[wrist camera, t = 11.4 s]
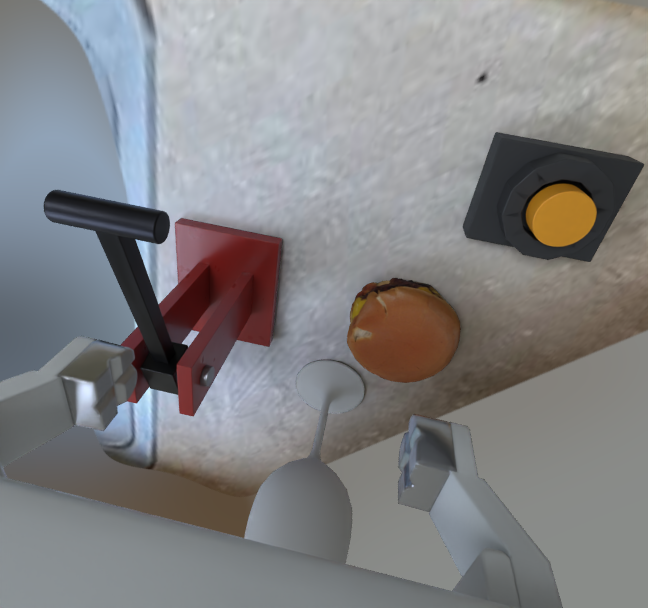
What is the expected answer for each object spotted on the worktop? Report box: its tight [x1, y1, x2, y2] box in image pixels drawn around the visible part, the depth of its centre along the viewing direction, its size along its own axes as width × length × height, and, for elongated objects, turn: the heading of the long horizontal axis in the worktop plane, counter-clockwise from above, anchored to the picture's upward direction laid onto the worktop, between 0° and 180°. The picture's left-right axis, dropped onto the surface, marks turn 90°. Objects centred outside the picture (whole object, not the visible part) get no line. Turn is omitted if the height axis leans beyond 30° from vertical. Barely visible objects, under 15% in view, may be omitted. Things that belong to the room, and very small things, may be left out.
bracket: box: [121, 218, 282, 416], centre depth 33 cm, size 11×9×14 cm
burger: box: [347, 278, 461, 383], centre depth 35 cm, size 10×9×5 cm
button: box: [526, 184, 597, 247], centre depth 26 cm, size 4×4×2 cm
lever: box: [44, 190, 188, 395], centre depth 24 cm, size 15×5×2 cm, turn 171°
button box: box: [463, 132, 644, 262], centre depth 28 cm, size 7×9×4 cm
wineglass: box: [245, 360, 364, 564], centre depth 34 cm, size 8×8×21 cm
